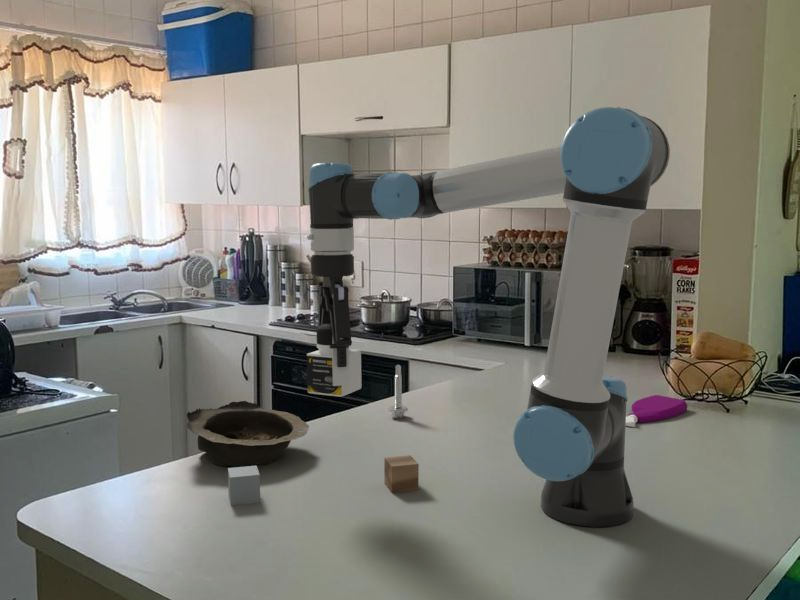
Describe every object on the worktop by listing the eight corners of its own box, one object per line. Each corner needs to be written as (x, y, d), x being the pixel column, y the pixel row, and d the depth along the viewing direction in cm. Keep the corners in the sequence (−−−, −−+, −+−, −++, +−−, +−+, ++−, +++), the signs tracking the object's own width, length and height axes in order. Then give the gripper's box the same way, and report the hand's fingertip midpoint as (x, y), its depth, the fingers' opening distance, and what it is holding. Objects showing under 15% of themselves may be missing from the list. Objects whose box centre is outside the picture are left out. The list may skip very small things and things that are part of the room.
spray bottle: (691, 412, 196) (640, 433, 179) (651, 404, 204) (598, 424, 187) (691, 401, 195) (640, 421, 179) (651, 393, 203) (598, 411, 187)
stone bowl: (177, 443, 168) (179, 401, 167) (292, 440, 177) (294, 400, 176) (189, 480, 145) (192, 430, 144) (320, 474, 154) (323, 427, 153)
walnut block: (418, 490, 141) (418, 463, 141) (391, 493, 140) (391, 466, 139) (410, 481, 146) (410, 455, 146) (384, 483, 145) (384, 457, 144)
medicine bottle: (306, 393, 138) (305, 325, 137) (328, 385, 144) (327, 320, 143) (341, 397, 135) (340, 328, 134) (362, 388, 141) (361, 322, 140)
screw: (408, 419, 187) (388, 419, 187) (407, 414, 192) (388, 414, 192) (408, 366, 186) (388, 366, 186) (407, 362, 191) (388, 362, 191)
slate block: (260, 502, 136) (259, 474, 135) (230, 505, 134) (229, 477, 134) (257, 492, 140) (256, 465, 140) (228, 495, 139) (227, 468, 138)
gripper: (300, 250, 146) (303, 368, 149) (323, 257, 125) (326, 394, 128) (339, 249, 149) (341, 365, 151) (368, 256, 127) (370, 390, 130)
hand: (334, 378), depth 139 cm, fingers closed on medicine bottle, 10 cm apart
